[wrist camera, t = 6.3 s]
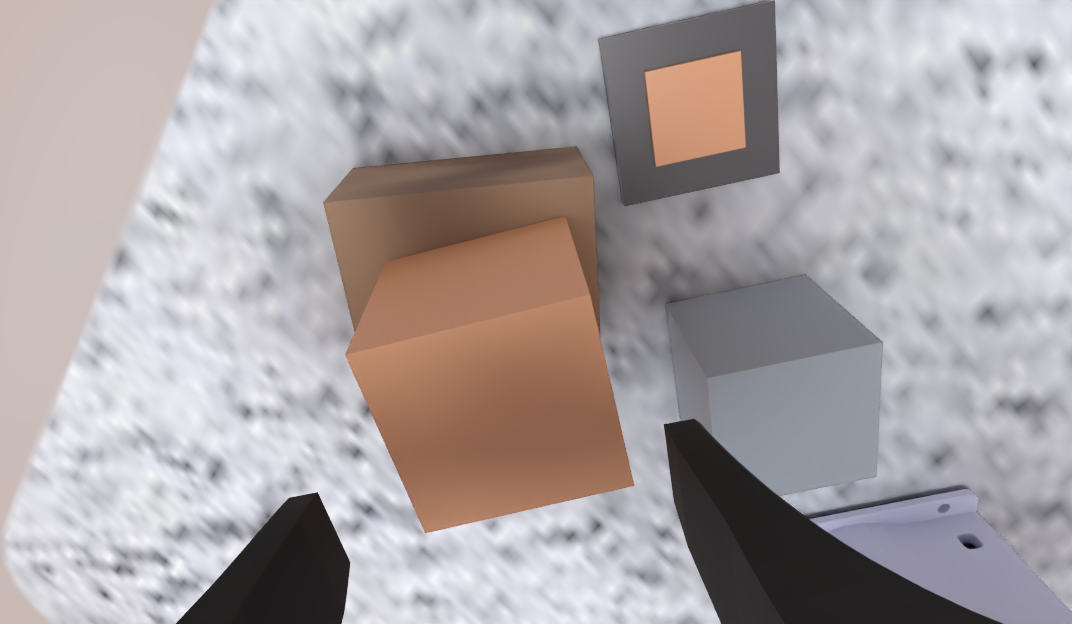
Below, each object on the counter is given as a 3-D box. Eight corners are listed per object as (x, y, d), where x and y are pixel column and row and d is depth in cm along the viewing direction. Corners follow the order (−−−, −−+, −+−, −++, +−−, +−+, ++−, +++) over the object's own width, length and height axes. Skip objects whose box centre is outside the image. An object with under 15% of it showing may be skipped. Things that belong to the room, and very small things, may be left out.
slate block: (804, 273, 22) (882, 341, 18) (806, 389, 24) (876, 476, 20) (664, 303, 22) (706, 378, 18) (678, 415, 25) (719, 507, 20)
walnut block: (575, 144, 20) (593, 175, 16) (586, 337, 23) (603, 399, 19) (354, 166, 20) (323, 202, 16) (395, 357, 23) (376, 423, 19)
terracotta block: (565, 215, 17) (590, 294, 12) (601, 370, 19) (634, 485, 14) (385, 262, 17) (345, 355, 12) (442, 409, 19) (425, 533, 15)
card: (769, 0, 18) (777, 0, 18) (774, 170, 20) (782, 174, 20) (598, 38, 18) (601, 39, 18) (622, 202, 20) (625, 208, 20)
